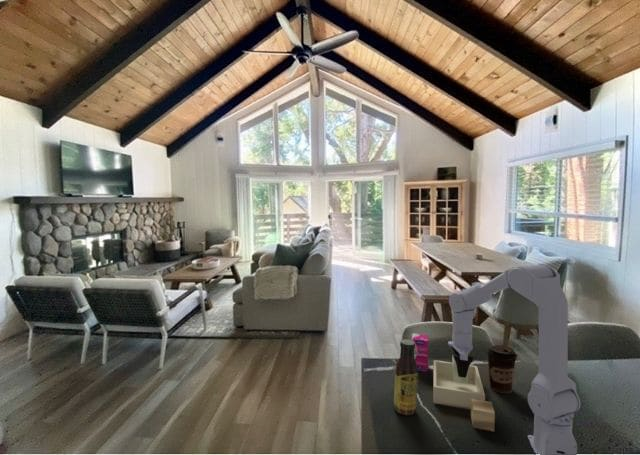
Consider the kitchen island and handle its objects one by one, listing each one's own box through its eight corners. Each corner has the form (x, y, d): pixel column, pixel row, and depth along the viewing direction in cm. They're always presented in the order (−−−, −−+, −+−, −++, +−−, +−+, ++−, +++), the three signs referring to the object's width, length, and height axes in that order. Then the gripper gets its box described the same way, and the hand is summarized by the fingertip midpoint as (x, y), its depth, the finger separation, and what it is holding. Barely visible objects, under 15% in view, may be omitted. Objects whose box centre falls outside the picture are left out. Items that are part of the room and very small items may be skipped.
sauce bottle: (400, 418, 89) (401, 348, 88) (389, 405, 95) (390, 339, 94) (421, 414, 91) (422, 345, 89) (409, 401, 97) (410, 336, 95)
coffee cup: (521, 398, 98) (522, 356, 97) (491, 395, 100) (492, 354, 99) (510, 382, 106) (511, 344, 106) (482, 380, 108) (483, 342, 107)
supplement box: (410, 370, 115) (411, 338, 114) (411, 362, 121) (411, 332, 120) (428, 372, 113) (428, 340, 112) (427, 364, 119) (428, 334, 118)
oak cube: (494, 431, 84) (494, 413, 83) (472, 427, 85) (473, 409, 85) (490, 419, 88) (491, 402, 88) (470, 415, 90) (471, 398, 90)
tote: (484, 412, 91) (485, 395, 91) (433, 403, 96) (433, 386, 95) (476, 380, 108) (477, 366, 108) (433, 374, 112) (433, 360, 112)
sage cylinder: (470, 384, 100) (470, 361, 99) (452, 381, 101) (453, 359, 101) (467, 375, 105) (468, 354, 104) (451, 373, 106) (451, 352, 106)
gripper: (447, 321, 110) (446, 360, 111) (449, 337, 96) (448, 381, 97) (470, 323, 108) (469, 363, 109) (475, 340, 94) (474, 385, 95)
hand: (461, 372), depth 103 cm, fingers closed on sage cylinder, 5 cm apart
